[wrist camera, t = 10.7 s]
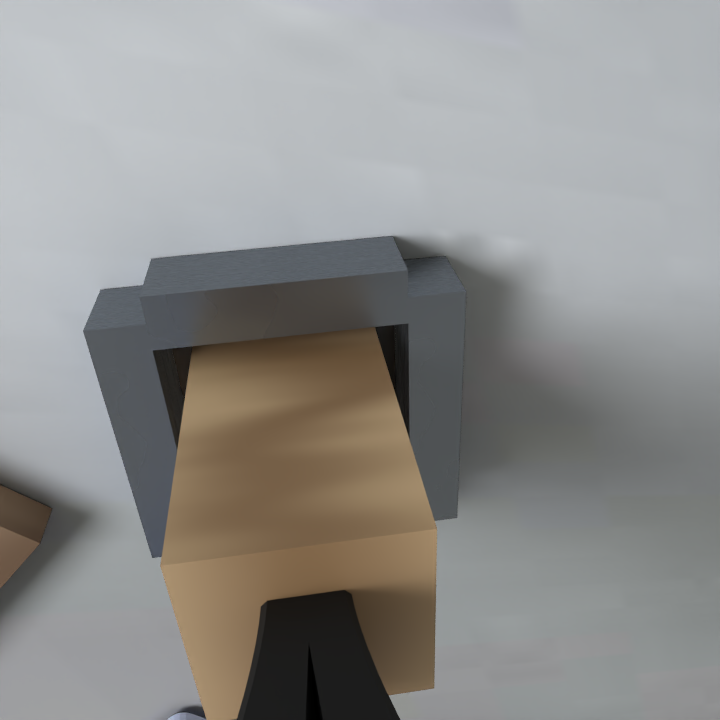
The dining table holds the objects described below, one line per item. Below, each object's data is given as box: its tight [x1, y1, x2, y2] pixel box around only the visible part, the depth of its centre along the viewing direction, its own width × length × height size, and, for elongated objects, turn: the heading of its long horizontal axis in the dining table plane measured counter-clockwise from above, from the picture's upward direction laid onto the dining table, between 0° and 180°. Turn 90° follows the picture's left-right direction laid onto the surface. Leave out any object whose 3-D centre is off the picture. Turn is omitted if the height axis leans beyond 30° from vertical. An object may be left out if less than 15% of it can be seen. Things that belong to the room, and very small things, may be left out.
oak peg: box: [160, 327, 437, 720], centre depth 14 cm, size 4×4×7 cm
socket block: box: [83, 236, 466, 558], centre depth 16 cm, size 8×8×2 cm
